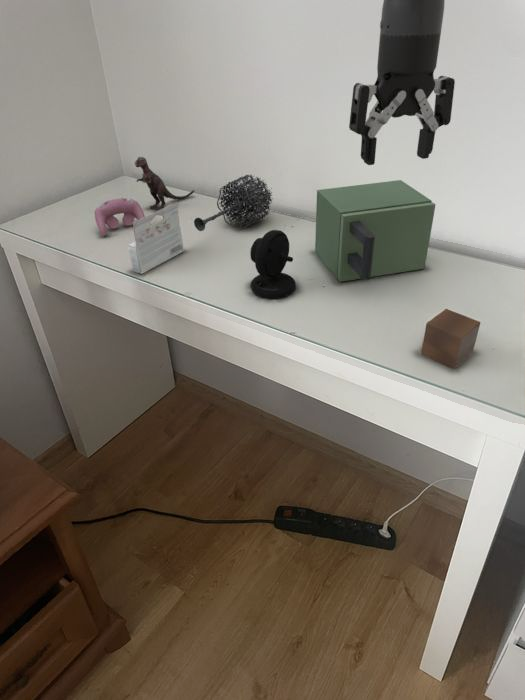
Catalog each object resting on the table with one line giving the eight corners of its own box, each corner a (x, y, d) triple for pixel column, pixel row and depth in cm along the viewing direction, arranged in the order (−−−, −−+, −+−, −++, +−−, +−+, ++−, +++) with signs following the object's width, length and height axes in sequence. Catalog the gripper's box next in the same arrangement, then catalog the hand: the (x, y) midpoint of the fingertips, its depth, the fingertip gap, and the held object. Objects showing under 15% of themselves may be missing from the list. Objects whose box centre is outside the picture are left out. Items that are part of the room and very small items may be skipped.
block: (473, 352, 72) (480, 321, 69) (454, 369, 69) (461, 337, 66) (439, 338, 74) (446, 308, 72) (420, 354, 72) (426, 323, 69)
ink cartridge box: (132, 271, 94) (122, 219, 88) (175, 249, 101) (168, 199, 95) (142, 275, 93) (132, 222, 87) (184, 252, 100) (178, 201, 94)
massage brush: (183, 242, 104) (177, 195, 98) (251, 207, 118) (249, 164, 112) (220, 253, 99) (216, 204, 93) (286, 215, 113) (285, 171, 108)
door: (444, 285, 86) (457, 218, 80) (354, 300, 83) (359, 231, 77) (422, 266, 92) (432, 202, 85) (337, 279, 89) (341, 213, 82)
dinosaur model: (130, 156, 110) (184, 145, 120) (135, 211, 117) (186, 196, 126) (142, 161, 108) (196, 149, 118) (147, 216, 115) (197, 200, 124)
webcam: (268, 273, 92) (266, 218, 86) (304, 284, 88) (305, 228, 82) (241, 292, 87) (237, 235, 81) (278, 304, 83) (278, 246, 77)
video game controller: (145, 229, 113) (136, 196, 112) (149, 226, 109) (140, 192, 108) (99, 238, 110) (89, 204, 108) (101, 236, 106) (91, 201, 104)
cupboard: (421, 266, 92) (432, 200, 85) (336, 279, 89) (340, 212, 82) (393, 241, 101) (400, 179, 94) (314, 252, 98) (316, 189, 91)
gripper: (371, 35, 62) (361, 173, 72) (477, 28, 65) (454, 162, 75) (346, 30, 68) (340, 159, 78) (444, 24, 71) (426, 148, 81)
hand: (396, 160), depth 76 cm, fingers open, 8 cm apart
